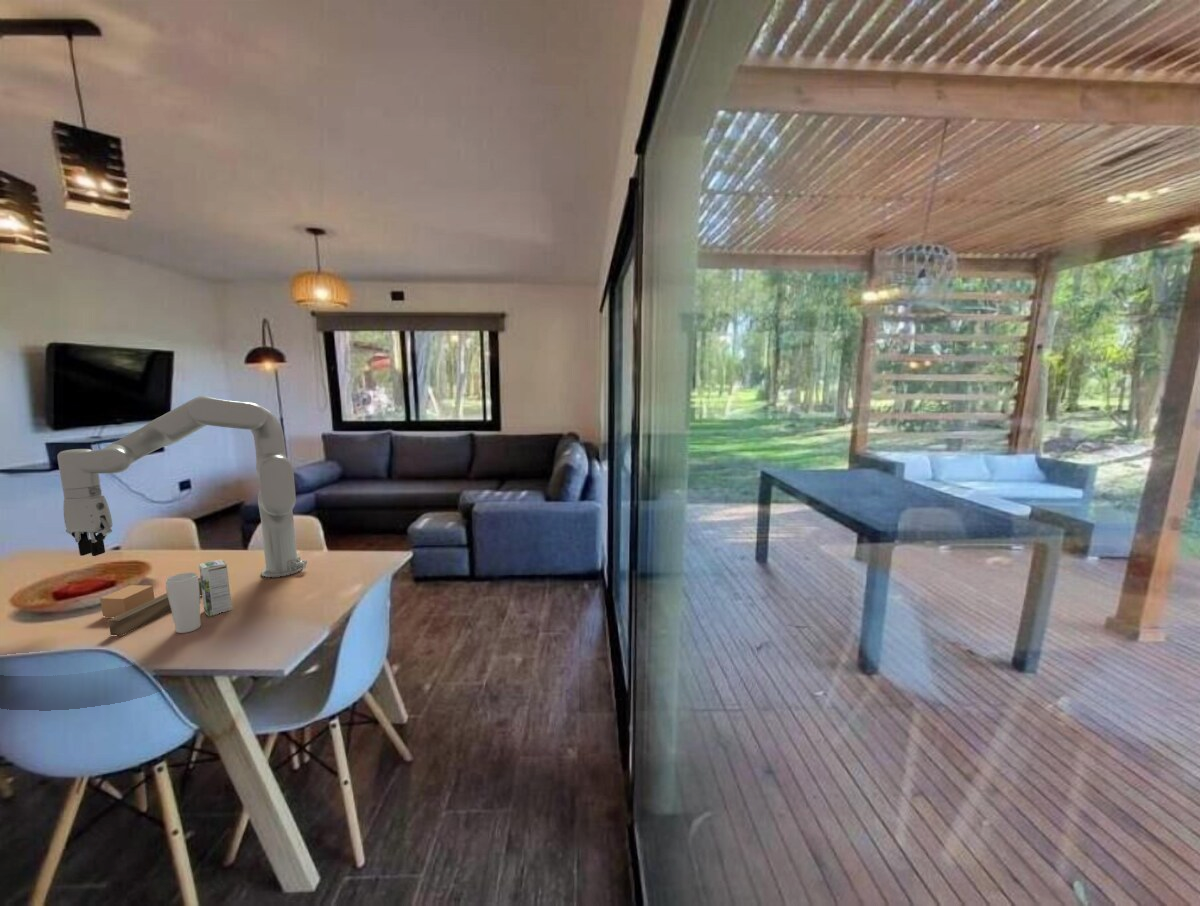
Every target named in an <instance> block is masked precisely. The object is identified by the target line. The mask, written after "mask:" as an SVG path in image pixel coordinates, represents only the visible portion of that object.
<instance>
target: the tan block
mask: <svg viewBox="0 0 1200 906" xmlns="http://www.w3.org/2000/svg"><path fill="white" fill-rule="evenodd" d="M155 598H156V597H155V594H154V586H153V585H141V584H139V585H133V584H130V585H128V586H125V587H123V588H120V589H118V590H116V591H113V592H111V593H109V594H107V595H105V596H102V597H100V598H99V600H100V606H101V612H102V617H103V616H105V617H116V616H118V615H120V614H123V613H125V612H127V611H129V610H131V609H133V608H136V607H138V606H140V605H142V604H144V603H146V602H148V601H151V600H153V599H155Z"/></svg>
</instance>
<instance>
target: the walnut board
mask: <svg viewBox="0 0 1200 906" xmlns="http://www.w3.org/2000/svg"><path fill="white" fill-rule="evenodd" d="M198 581H199V591H200V595H202V588H201V578H200V577H198ZM154 598H155V599H153V600H151V601H148V602H146V603H144V604H142V605H140V606H138V607H136V608H133V609H131V610H129V611H127V612H125V613H123V614H120V615H118V616H116V617H114V618H109V619H108V620H107V621H108V627H109V633H110V636H111V635H117V636H116V637H123V636H124V635H123V634H125V633H127V634H129V633H131V632H133V631H135V630H137V629H139V628H141V627H143V626H145V625H146V624H148V623H151V622H152V621H155V620H156V619H158V618H160V617H162V616H164V615H166V614H168V613H171V612H172V611H171V608H170V604H169V600H168V596H167V592H165V593H164V594H162V595H159V596H158V597H154ZM136 628H137V629H136ZM134 629H135V630H134ZM132 630H133V631H132ZM130 631H131V632H130ZM128 632H129V633H128ZM122 635H123V636H122ZM125 635H126V634H125Z"/></svg>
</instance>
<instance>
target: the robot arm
mask: <svg viewBox="0 0 1200 906" xmlns="http://www.w3.org/2000/svg"><path fill="white" fill-rule="evenodd" d="M206 426H209V427H210V426H213V427H220V428H229V429H239V430H250V432H251V433H252V435H253V440H254V447H255V456H256V458H255V463H256V465H255V466H256V472H257V474H258V475H259V484H260V489H259V490H258V494H257V505H258V509H259V510H258V511H259V516H260V517H259V518H260V523H261V533H262V545H263V553H264V564H265V567H264V568H262V570H261V571H260V574H261V576H262V577H264V576H265V577H264V578H270V577H272V578H281V577H280V576H282V577H287V576H291V575H293V574H296V573H298V571H299V572H300V571H302V570H303V569H305V568H306V567H307V565H308V560H301V556H300V555H298V550H297V541H296V531H295V530H296V529H295V519H294V513H293V511H294V510H293V509H294V507H295V505H296V503H297V500H296V499H297V498H296V497H297V495H296V485H295V473H294V467H293V465H292V463H291V461H290V460H289V458H288V457H287V452H286V444H285V443H286V442H285V435H284V430H283V428H282V425H281V423H280V421H279V420H278V418H277V417H276V416H275V414H273V412H271V411H270V410H269V409H267V408H265V407H264V406H262V405H261V404H259V403H255V402H252V401H235V400H227V399H222V398H221V399H220V398H215V397H211V396H209V395H207V396H206V395H199V396H196V397H194V398H192V399H190V400H189V401H186V402H185V403H183V404H181V405H179V406H177V407H175V408H173V409H172V410H170V411H168V412H166V413H164V414H163V415H161V416H159V417H156V418H155V419H153V420H151V421H149V422H147V424H144V425H143V426H141V427H139V428H138V429H137V430H135V431H132V432H131V433H129V434H127V435H125V436H124V437H122V438H120V439H118V440H116V441H113V442H111V444H108V445H107V446H104V447H103V448H102V449H96V450H92V449H90V448H75V449H66V450H61V451H60V452H58V454H57V456H56V457H57V464H58V469H59V477H60V483H61V487H62V493H63V520H64V525H65V532H66V533H67V534H69V535H70V536H72V537H73V538H74V540H75V543H77V546H78V547H77V548H78V551H79V556H81V557H83V556H86V555H89V554H91V556H92V557H96V556H100V555H102V554H105V553H106V549H105V547H106V546H105V540H106V537H107V536H108V535H109V534H111V533H112V532H113V530H112V527H113V519H112V514H111V512H110V511H111V510H110V507H109V504H108V502H107V499H106V497H105V495H102V488H101V483H100V476H99V475H100V474H108V475H109V474H110V475H111V474H120V473H123V472H124V471H127V470H128V469H130V467H131V464H133V463H135V462H136V461H138V460H140V459H141V458H144V457H145V456H147V455H149V454H150V453H153V452H155V451H157V450H159V449H161V448H163V447H167V446H171V445H174V444H175V443H178V442H180V441H181V440H183V439H184V438H186V437H188V436H190V435H192V434H193V433H195V432H197V431H199V430H200V429H203V428H205V427H206ZM301 569H302V570H301ZM290 574H291V575H290ZM286 575H287V576H286Z"/></svg>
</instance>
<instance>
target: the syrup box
mask: <svg viewBox="0 0 1200 906" xmlns="http://www.w3.org/2000/svg"><path fill="white" fill-rule="evenodd" d="M198 566H199V575H200V577H199V578H201V588H202V596H201V597H202V603H203V604H202V605H203V611H204V613H205V614H206V616H207V617H212V616H211V615H213V616H215V614H216V615H218V614H219V613H220V614H222V613H221V612H223V613H225V612H224V611H226V612H228V611H227V610H229V611H232V610H231V609H232V601H231V600H232V599H231V590H230V583H229V572H228V564H227V563H226V562H225V561H224V560H223V559H217V560H216V559H215V560H211V561H206V562H203V563H199V565H198ZM220 614H219V615H220Z"/></svg>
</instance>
